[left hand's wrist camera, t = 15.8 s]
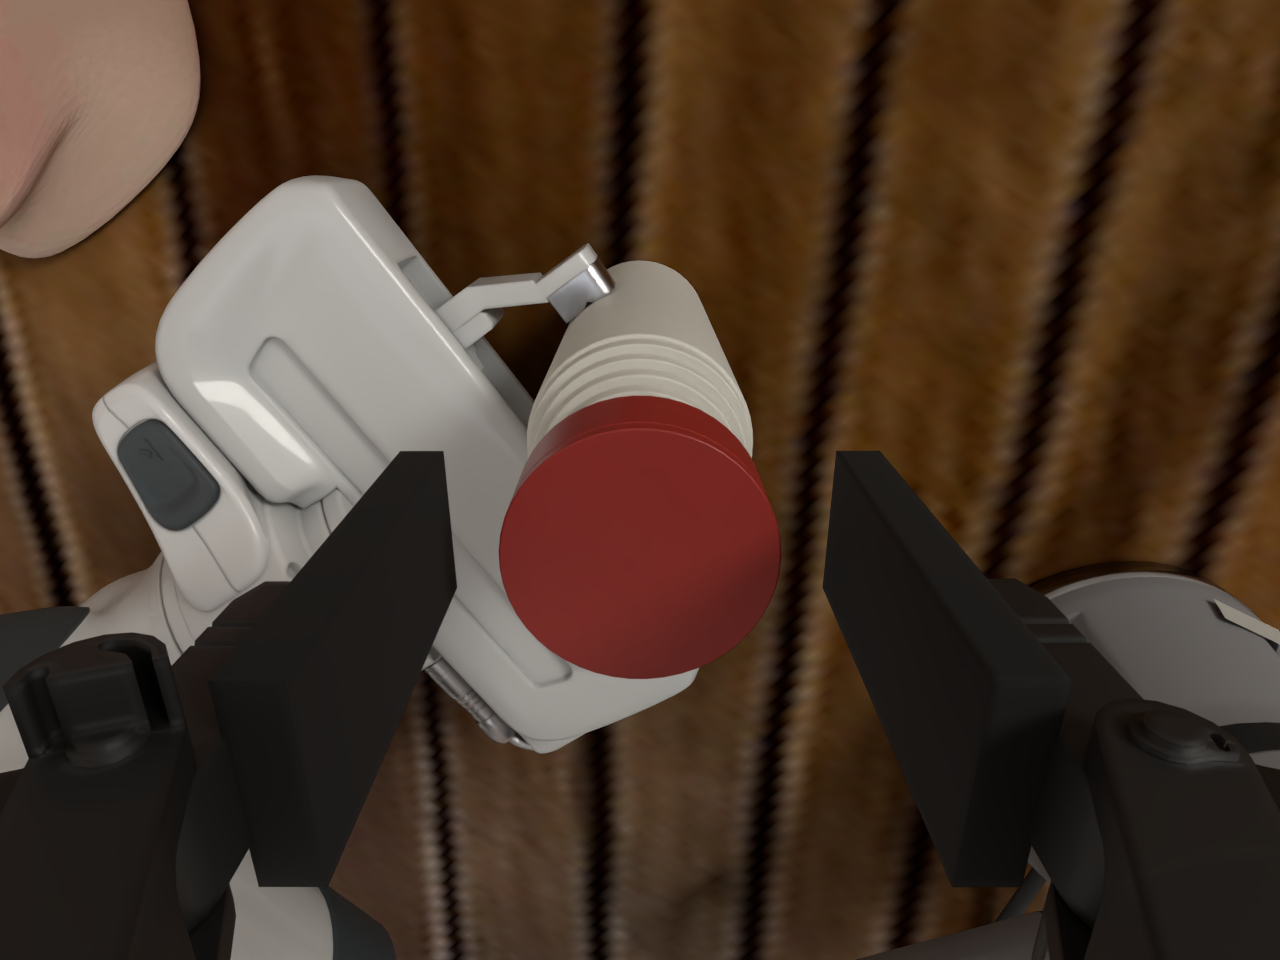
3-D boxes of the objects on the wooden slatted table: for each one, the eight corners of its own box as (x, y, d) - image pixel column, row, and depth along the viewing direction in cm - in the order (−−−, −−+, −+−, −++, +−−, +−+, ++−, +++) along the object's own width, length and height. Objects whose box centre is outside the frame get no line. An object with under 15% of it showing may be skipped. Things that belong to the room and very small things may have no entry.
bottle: (552, 293, 30) (429, 473, 13) (675, 238, 29) (729, 347, 12) (607, 410, 32) (565, 713, 14) (724, 361, 31) (834, 616, 14)
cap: (648, 662, 16) (649, 723, 14) (464, 523, 14) (441, 571, 13) (816, 506, 14) (839, 553, 13) (630, 340, 13) (628, 366, 11)
